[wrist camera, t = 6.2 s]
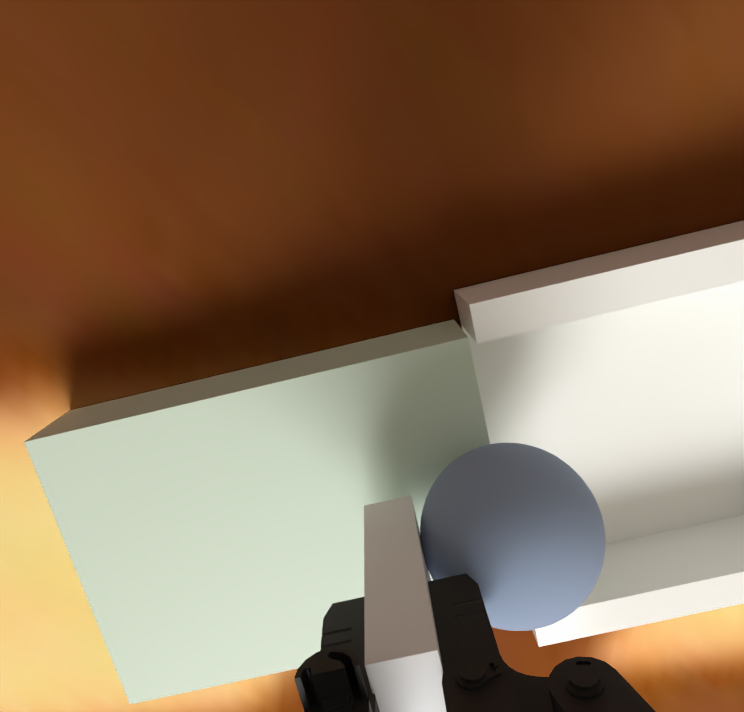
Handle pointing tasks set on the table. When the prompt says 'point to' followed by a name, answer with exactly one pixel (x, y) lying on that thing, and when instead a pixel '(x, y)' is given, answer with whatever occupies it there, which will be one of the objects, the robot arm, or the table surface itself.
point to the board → (249, 499)
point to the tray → (631, 412)
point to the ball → (515, 533)
